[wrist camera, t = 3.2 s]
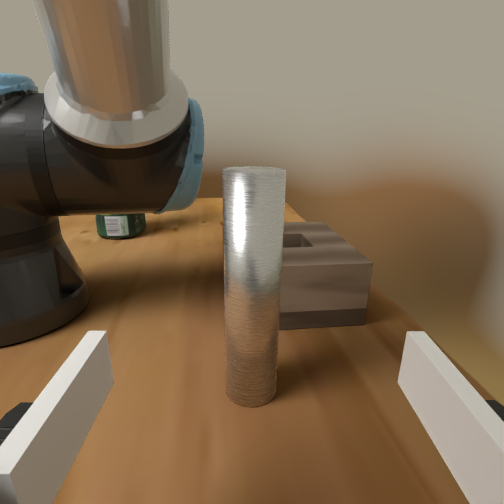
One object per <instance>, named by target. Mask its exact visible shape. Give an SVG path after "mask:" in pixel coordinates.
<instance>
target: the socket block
mask: <svg viewBox="0 0 504 504" xmlns="http://www.w3.org/2000/svg"><path fill="white" fill-rule="evenodd" d="M372 266H373V263H372V262H371V261H370V260H368V259H367V258H366V257H365V256H364V255H362V254H361V253H360V252H359V251H357V250H356V249H355V248H354V247H352V246H351V245H350V244H349V243H347V242H346V241H345V240H344V239H343V238H341V237H340V236H339V235H338V234H336V233H335V232H334V231H333V230H331V229H330V228H329V227H328V226H327V225H325V224H324V223H323V222H289V223H284V229H283V251H282V273H281V295H280V317H279V330H286V329H302V328H319V327H336V326H353V325H364V323H365V316H366V309H367V302H368V295H369V288H370V280H371V273H372ZM223 271H224V233H223Z"/></svg>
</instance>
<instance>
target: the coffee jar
mask: <svg viewBox="0 0 504 504" xmlns="http://www.w3.org/2000/svg"><path fill="white" fill-rule="evenodd" d="M96 224H97V232H98V235H99V236H101V237H105V238H109V239H121V238H126V237H134V236H136V235H137V234H139V233H140V232H141V231H142V230H143V229H144V228H145V226H146V221H145V213H135V214H97V215H96Z"/></svg>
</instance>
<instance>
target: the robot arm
mask: <svg viewBox="0 0 504 504" xmlns="http://www.w3.org/2000/svg"><path fill="white" fill-rule="evenodd" d="M31 3H32V6H33V9H34V12H35V14H36V17H37V20H38V23H39V26H40V29H41V31H42V35H43V38H44V41H45V44H46V46H47V49H48V52H49V55H50V58H51V61H52V64H53V67H54V70H55V71H54V73H53V74H52V75H51V76H50V78H49V79H48V81H47V84H46V86H45V91H44V93H38V88H37V87H36V86H35V84H34V82H33V81H32V79H30V78H29V77H26V76H23V75H16V74H8V73H7V74H6V73H0V347H1V346H6V345H10V344H14V343H18V342H22V341H25V340H28V339H31V338H34V337H37V336H40V335H42V334H45V333H47V332H50V331H52V330H54V329H56V328H58V327H60V326H62V325H64V324H66V323H67V322H69V321H70V320H72V319H73V318H75V317H76V316H77V315H78V314H80V313H81V312H82V311H83V310H84V308H85V307H86V306H87V304H88V301H89V293H88V287H87V281H86V278H85V276H84V274H83V273H82V271H81V269H80V267H79V266H78V264H77V262H76V261H75V259H74V257H73V255H72V254H71V252H70V250H69V248H68V247H67V245H66V243H65V241H64V240H63V238H62V235H61V230H60V225H59V219H58V216H70V215H97V214H135V213H154V214H160V213H163V212H165V211H175V210H183V209H185V208H187V207H189V206H190V205H191V204H192V203H193V202H194V200H195V198H196V196H197V193H198V190H199V186H200V181H201V176H202V168H203V163H202V157H203V152H204V124H203V117H202V111H201V108H200V105H199V104H198V102H197V101H196V100H194V99H191V98H188V94H187V90H186V88H185V86H184V84H183V82H182V80H181V79H180V78H179V77H178V75H177V74H176V73H175V72H174V71H173V70H171V69H170V53H169V52H170V49H169V48H170V47H169V11H168V0H31ZM113 384H114V379H113V372H112V365H111V358H110V351H109V344H108V338H107V331H88V332H87V334H86V335H85V336H84V337H83V339H82V340H81V341H80V343H79V344H78V345H77V347H76V348H75V349H74V351H73V352H72V353H71V354H70V356H69V357H68V358H67V360H66V361H65V362H64V364H63V365H62V366H61V367H60V369H59V370H58V371H57V373H56V374H55V375H54V377H53V378H52V379H51V381H50V382H49V383H48V384H47V386H46V387H45V388H44V390H43V391H42V392H41V394H40V395H39V396H38V398H37V399H36V400H35V401H34V403H20V404H18V405H17V406H16V407H14V408H13V409H12V410H10V411H9V412H8V413H6V414H5V415H4V416H3V418H2V419H1V420H0V504H52V503H53V501H54V499H55V497H56V496H57V494H58V492H59V490H60V488H61V486H62V484H63V482H64V480H65V478H66V476H67V474H68V472H69V470H70V468H71V466H72V464H73V462H74V460H75V458H76V456H77V454H78V452H79V451H80V449H81V447H82V445H83V443H84V441H85V439H86V437H87V435H88V433H89V431H90V429H91V427H92V425H93V423H94V421H95V419H96V417H97V415H98V413H99V411H100V409H101V407H102V406H103V404H104V402H105V400H106V398H107V396H108V394H109V392H110V390H111V388H112V386H113ZM398 384H399V386H400V387H401V389H402V391H403V392H404V394H405V396H406V398H407V399H408V401H409V403H410V404H411V406H412V408H413V409H414V411H415V413H416V414H417V416H418V418H419V419H420V421H421V423H422V424H423V426H424V428H425V429H426V431H427V433H428V434H429V436H430V438H431V439H432V441H433V443H434V444H435V446H436V448H437V450H438V451H439V453H440V455H441V456H442V458H443V460H444V461H445V463H446V465H447V466H448V468H449V470H450V471H451V473H452V475H453V476H454V478H455V480H456V481H457V483H458V485H459V486H460V488H461V490H462V491H463V493H464V495H465V497H466V498H467V500H468V502H469V503H470V504H504V406H502V405H501V404H499V403H498V402H497V401H495V400H484V399H483V398H482V397H481V396H480V394H479V393H478V392H477V391H476V390H475V389H474V388H473V386H472V385H471V384H470V383H469V382H468V381H467V380H466V378H465V377H464V376H463V375H462V374H461V373H460V372H459V370H458V369H457V368H456V367H455V366H454V365H453V364H452V362H451V361H450V360H449V359H448V358H447V357H446V356H445V354H444V353H443V352H442V351H441V350H440V349H439V348H438V346H437V345H436V344H435V343H434V342H433V341H432V340H431V338H430V337H429V336H428V335H427V334H426V333H425V332H424V331H407V334H406V340H405V345H404V350H403V356H402V361H401V366H400V372H399V377H398Z"/></svg>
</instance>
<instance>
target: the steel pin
mask: <svg viewBox="0 0 504 504" xmlns="http://www.w3.org/2000/svg"><path fill="white" fill-rule="evenodd" d="M285 186H286V170H285V169H281V168H274V167H259V166H243V167H229V168H224V169H223V233H224V305H225V377H226V394H227V396H228V397H229V399H230V400H231V401H233V402H234V403H236V404H238V405H241V406H245V407H258V406H262V405H264V404H266V403H268V402H270V401H271V400H272V399H273V397H274V396H275V393H276V382H277V360H278V338H279V317H280V295H281V273H282V251H283V229H284V208H285Z"/></svg>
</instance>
